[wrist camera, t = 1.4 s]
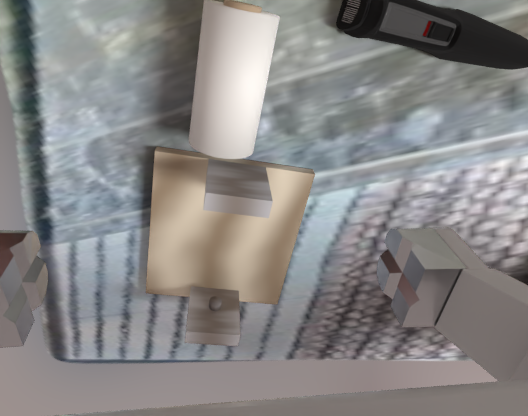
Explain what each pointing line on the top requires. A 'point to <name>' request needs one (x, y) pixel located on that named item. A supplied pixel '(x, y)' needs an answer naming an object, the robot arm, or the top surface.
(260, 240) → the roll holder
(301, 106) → the top surface
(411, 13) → the electric trimmer
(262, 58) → the paper roll
